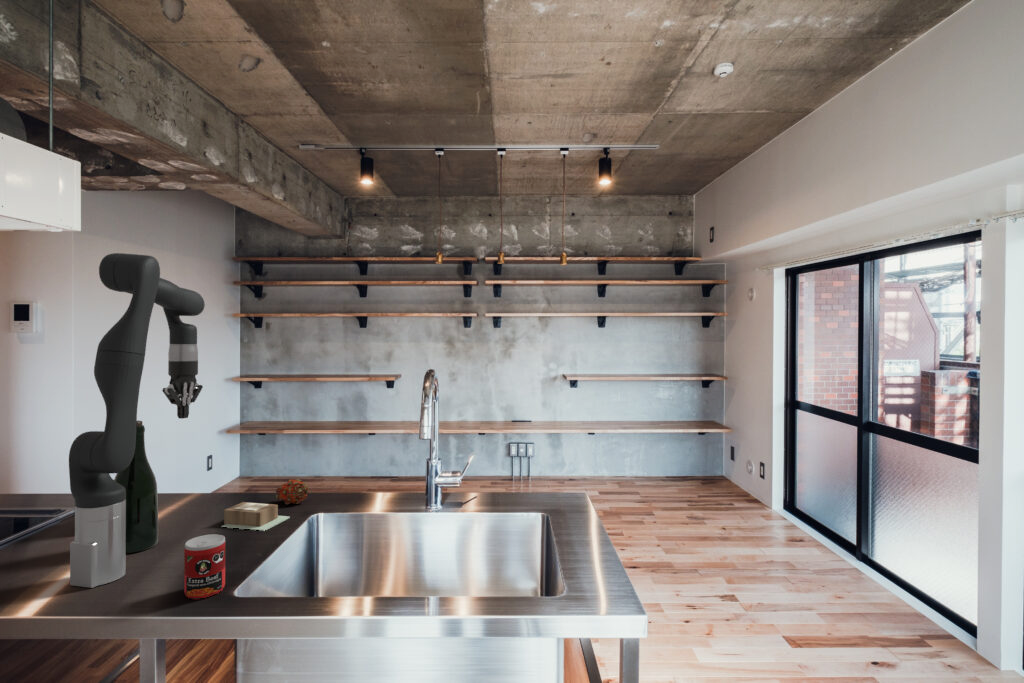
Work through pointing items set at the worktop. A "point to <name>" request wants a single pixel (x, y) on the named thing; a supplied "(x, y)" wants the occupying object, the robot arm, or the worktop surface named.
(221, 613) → the worktop surface
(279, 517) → the mat
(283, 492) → the dragon fruit
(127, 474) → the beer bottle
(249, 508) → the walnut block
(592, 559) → the worktop surface
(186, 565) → the canned food
